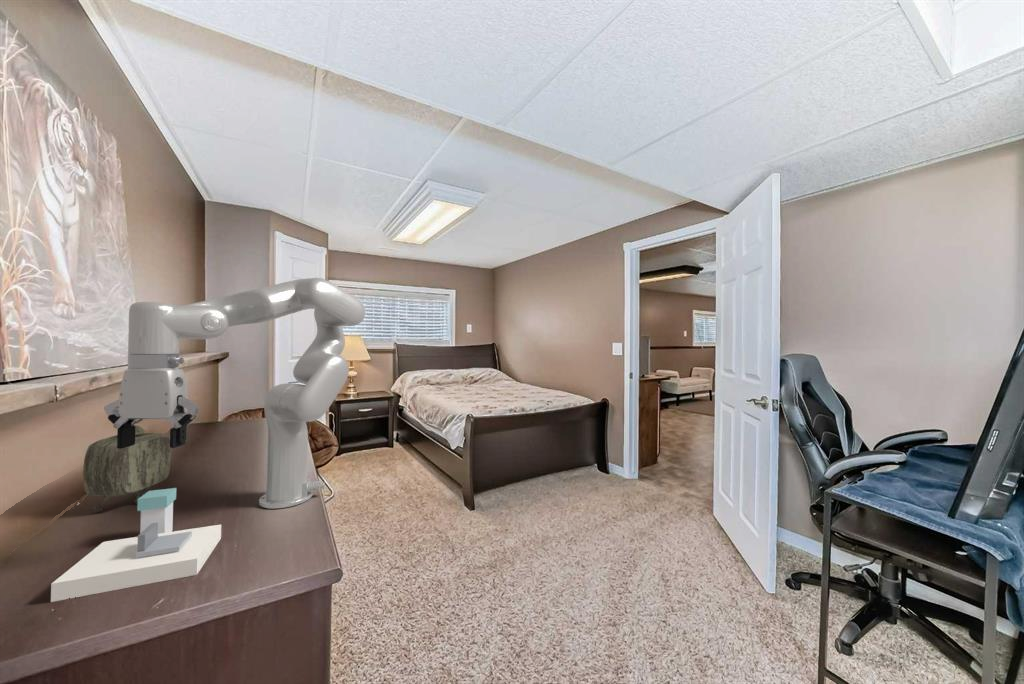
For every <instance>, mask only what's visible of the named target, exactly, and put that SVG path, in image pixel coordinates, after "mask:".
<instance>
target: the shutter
mask: <svg viewBox="0 0 1024 684" xmlns="http://www.w3.org/2000/svg"><path fill="white" fill-rule="evenodd" d="M191 536H192V532H185V533H178V534H172V535H165V536H158V522H157V523H151V524H150V525H149V526H148V527H147V528H146V529H145V530H144V531H143V532H141V533H140V532H139V534H137V537H138V548H137V553H136V558H139V557H145V556H151V555H157V554H163V553H169V552H175V551H179V550H180V549H181V548H182V547H183V546H184V544H185V543H186V542H187V541H188V539H189V538H190V537H191Z"/></svg>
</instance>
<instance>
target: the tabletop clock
mask: <svg viewBox="0 0 1024 684" xmlns="http://www.w3.org/2000/svg"><path fill="white" fill-rule="evenodd" d="M143 420H144V419H137V420H136V421H135V422H134V423H133V424H132V425H131V426H135V444H134V445H132V446H129V447H125V448H122V449H118V448H117V434H115V435H112V436H110V437H106V438H101V439H100V440H96V441H95V442H93V443H90V444H89V445H88V447H87V449H86V451H85V455H84V461H83V470H82V477H83V487H84V490H85V493H86V495H87V496H92V497H93V496H95V497H96V496H98V497H99V496H101V497H102V496H103V497H104V498H103V499H102V500H101V502H100V504H98V505H95V506H94V507H93V509H92V510H93V513H99V512H101V511H102V510H103V506H104V504H106V502H108V500H110V498H112V497H125V496H129V495H132V494H134V495H135V497H136V498H135V499H134V501H133V502H134V505H135V504H136V505H138V499H139V498H140V497H141V496H143V495H144V494H145V493H147V490H148V489H149V488H151V487H153V486H155V485H157V484H160V483H161V482H163V481H165V480H166V479H167V478H168V477H169V475H170V470H171V461H172V453H171V451H172V448H171V447H170V437H169V436H167V435H166V434H164V433H153V432H151V433H150V432H149V433H148V432H147V433H146V431H145V430H144V428H143V427H142V426H141V425H136V424H139V423H140V422H142V421H143Z"/></svg>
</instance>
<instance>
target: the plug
mask: <svg viewBox="0 0 1024 684" xmlns="http://www.w3.org/2000/svg"><path fill="white" fill-rule="evenodd" d="M139 497H140V498H139V499H138V504H136V505H137V506H136V507H137V509H136V510H137V512H140V527H139V528H140V529H139V530H140V532H139V534H140V533H141V532H143V531H144V530H145V529H146V528H147V527H148V526H149V525H150V524H151V523H157V522H158V534H160V533H166V532H173V528H174V527H173V524H174V523H173V522H174V521H173V520H174V518H173V517H174V501H175V500H177V487H172V488H171V487H170V488H165V489H164V488H163V489H154V490H148V491H146V493H145V494H143V495H140V496H139Z"/></svg>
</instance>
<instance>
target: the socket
mask: <svg viewBox="0 0 1024 684" xmlns="http://www.w3.org/2000/svg"><path fill="white" fill-rule="evenodd" d="M185 532H192V536H191V537H190V538H189V539H188V541H187V542H186V543H185V544H184V546H183V547H182V548H181V549H180V550H179V551H175V552H169V553H163V554H157V555H151V556H145V557H139V558H136V553H137V548H138V536H134V537H127V538H118V539H113V540H107V541H102V542H101V543H100V544H99V545H97V547H95V548H94V549H92V550H91V551H90V552H89V553H88V554H87V555H85V556H84V557H82V558H81V559H80V560H79V561H78V562H77V563H75V564H74V565H72V566H71V567H70V568H69V569H68V570H67V571H65V572H64V573H63V574H61V576H59V577H57V578H56V579H55V580H54V581H53V582H52V583H51V584H50V585H51V586H50V588H51V589H50V603H55V602H60V601H64V600H65V601H66V600H69V598H70V599H75V597H76V598H79V597H85V596H91V595H95V594H101V593H107V592H112V591H118V590H124V589H128V588H133V587H140V586H145V585H149V584H155V583H159V582H160V583H161V582H165V581H171V580H176V579H177V580H178V579H181V578H186V577H187V578H188V577H192V576H197V575H198V574H199V572H200V571H201V570H202V567H203V566H204V565H205V563H206V562H207V560H208V559H209V557H210V556H211V554H212V553H213V551H214V550H215V548H216V546H217V545H218V544H219V542H220V540H221V539H222V524H217V525H216V524H214V525H208V526H202V527H195V528H188V529H182V530H175V531H173V530H172V532H166V533H160V534H158V536H165V535H172V534H178V533H185Z"/></svg>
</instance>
